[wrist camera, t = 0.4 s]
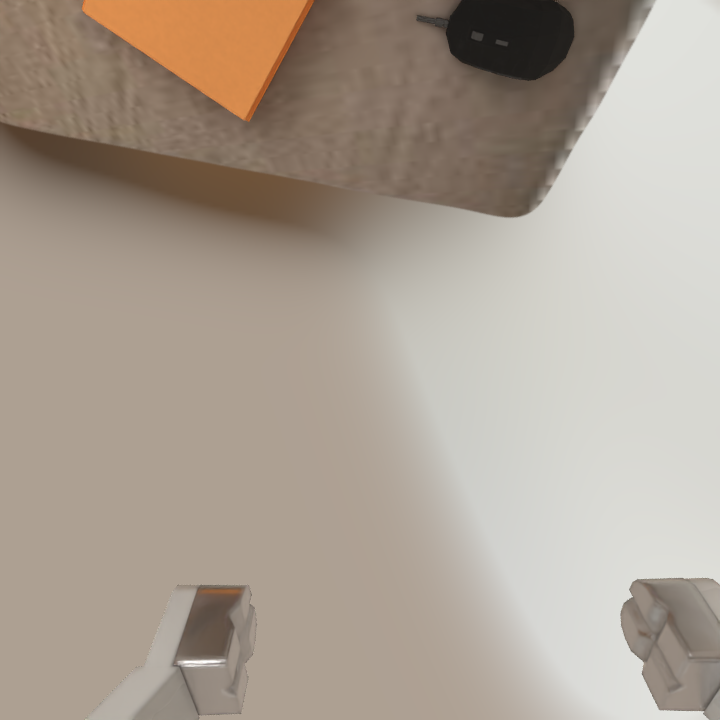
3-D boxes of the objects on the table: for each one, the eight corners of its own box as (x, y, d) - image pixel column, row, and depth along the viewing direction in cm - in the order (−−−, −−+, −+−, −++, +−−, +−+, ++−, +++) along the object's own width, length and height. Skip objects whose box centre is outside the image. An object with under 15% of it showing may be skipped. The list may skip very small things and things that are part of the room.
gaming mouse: (425, -26, 42) (429, -16, 39) (582, 4, 44) (597, 15, 41) (409, 55, 46) (412, 69, 44) (552, 79, 48) (563, 94, 45)
